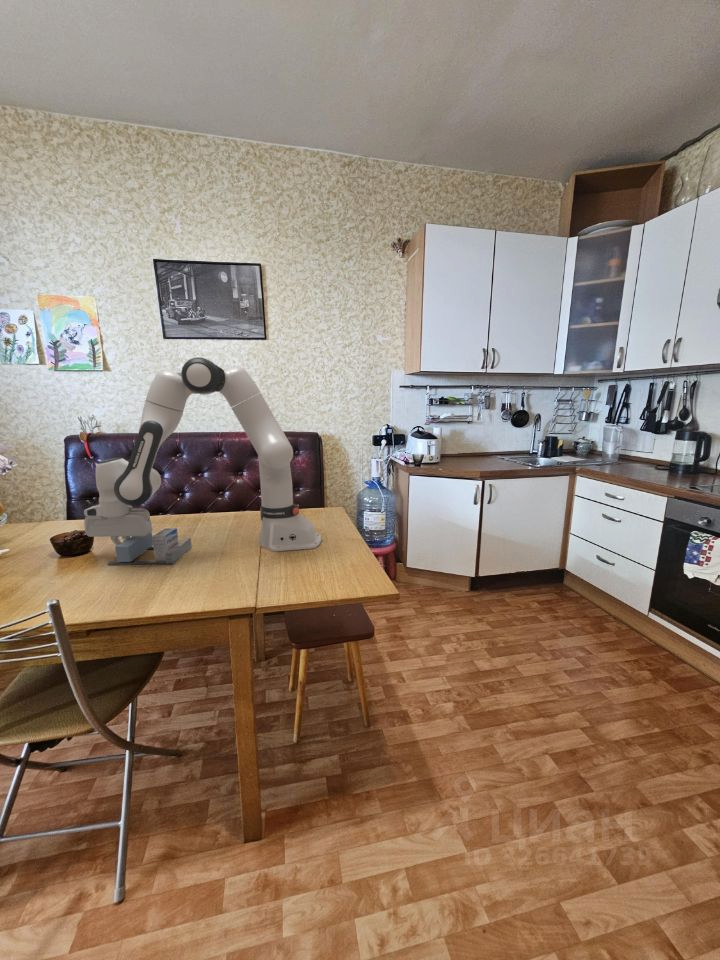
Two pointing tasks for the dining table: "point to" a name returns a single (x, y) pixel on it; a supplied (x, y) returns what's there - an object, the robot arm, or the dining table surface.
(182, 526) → the dining table surface
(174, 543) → the medicine box
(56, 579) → the dining table surface
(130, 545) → the vise jaw
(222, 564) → the dining table surface
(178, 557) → the vise
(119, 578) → the dining table surface
